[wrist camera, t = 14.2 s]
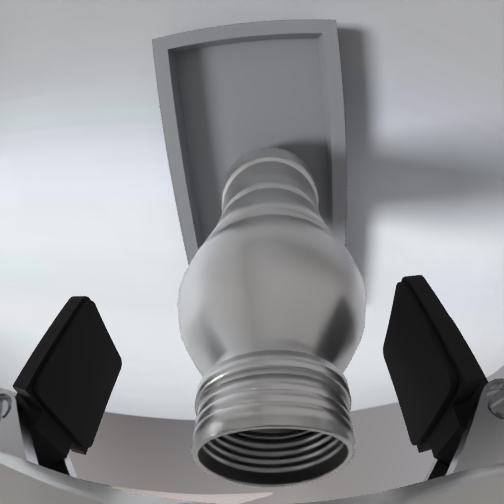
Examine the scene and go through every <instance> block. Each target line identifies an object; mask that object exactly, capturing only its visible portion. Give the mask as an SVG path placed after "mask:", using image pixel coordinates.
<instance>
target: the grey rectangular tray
mask: <svg viewBox="0 0 504 504" xmlns="http://www.w3.org/2000/svg"><path fill="white" fill-rule="evenodd" d="M152 45H153V54H154V63H155V72H156V80H157V88H158V96H159V103H160V110H161V117H162V124H163V131H164V137H165V143H166V150H167V156H168V162H169V167H170V173H171V179H172V184H173V190H174V195H175V201H176V206H177V211H178V216H179V221H180V226H181V231H182V236H183V241H184V246H185V250H186V255H187V259H188V264H189V265H190V263H191V261H192V259H193V258H194V256H195V254H196V253H197V251H198V250H199V248H200V247H201V246H202V245H203V243H204V242H205V241H206V239H207V238H208V237H209V235H210V234H211V233H212V231H213V230H214V229H215V228H216V226H217V224H218V222H219V220H220V218H221V216H222V199H221V197H222V187H223V182H224V179H225V177H226V174H227V172H228V171H229V169H230V168H231V166H232V165H233V164H234V163H235V162H236V161H237V160H238V159H239V158H240V157H242V156H243V155H245V154H246V153H248V152H251V151H253V150H256V149H260V148H266V147H273V148H280V149H284V150H287V151H289V152H292V153H294V154H296V155H297V156H298V157H300V158H301V159H302V160H303V161H304V162H305V163H306V164H307V165H308V166H309V168H310V169H311V171H312V173H313V175H314V177H315V180H316V183H317V189H318V199H319V202H318V209H319V213H320V215H321V217H322V219H323V221H324V222H325V224H326V225H327V226H328V227H329V229H330V230H331V231H332V232H333V233H334V235H335V236H336V237H337V238H338V239H339V240H340V242H341V243H342V244H343V245H344V246H345V238H346V139H345V116H344V99H343V85H342V73H341V61H340V51H339V42H338V34H337V25H336V20H276V21H261V22H250V23H240V24H232V25H224V26H217V27H210V28H204V29H198V30H193V31H188V32H183V33H178V34H173V35H169V36H164V37H160V38H156V39H152Z"/></svg>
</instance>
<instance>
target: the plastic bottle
mask: <svg viewBox="0 0 504 504" xmlns="http://www.w3.org/2000/svg"><path fill="white" fill-rule="evenodd" d="M221 199H222V216H221V218H220V220H219V222H218V224H217V226H216V228H215V229H214V230H213V231H212V233H211V234H210V235H209V237H208V238H207V239H206V241H205V242H204V243H203V245H202V246H201V247H200V248H199V250H198V251H197V253H196V254H195V256H194V258H193V259H192V261H191V263H190V265H189V267H188V268H187V270H186V272H185V274H184V276H183V279H182V282H181V285H180V288H179V295H178V318H179V327H180V333H181V338H182V340H183V342H184V345H185V347H186V349H187V351H188V353H189V355H190V357H191V359H192V361H193V363H194V364H195V366H196V368H197V369H198V371H199V372H200V373H201V375H202V376H203V378H202V380H201V382H200V384H199V386H198V391H197V395H196V401H195V411H196V415H197V418H196V423H195V428H194V434H193V438H192V445H191V449H192V455H191V456H192V459H193V461H194V463H195V464H196V465H197V466H198V467H199V468H200V469H201V470H202V471H204V472H205V473H207V474H209V475H211V476H212V477H214V478H217V479H220V480H222V481H225V482H229V483H232V484H236V485H241V486H247V487H256V488H257V487H258V488H284V487H293V486H300V485H304V484H309V483H313V482H316V481H319V480H322V479H325V478H327V477H329V476H331V475H333V474H335V473H337V472H339V471H340V470H342V469H343V468H344V467H345V466H347V465H348V464H349V463H350V461H351V460H352V458H353V457H354V452H355V449H354V446H355V438H354V433H353V428H352V423H351V417H350V410H351V396H350V391H349V387H348V383H347V380H346V378H345V376H344V375H343V372H344V371H345V369H346V368H347V366H348V364H349V363H350V361H351V359H352V357H353V355H354V353H355V351H356V349H357V347H358V345H359V343H360V341H361V338H362V334H363V331H364V328H365V311H366V290H365V286H364V281H363V277H362V275H361V273H360V271H359V269H358V267H357V265H356V263H355V261H354V260H353V258H352V257H351V255H350V253H349V251H348V250H347V249H346V248H345V246H344V245H343V244H342V243H341V242H340V240H339V239H338V238H337V237H336V236H335V235H334V233H333V232H332V231H331V230H330V229H329V227H328V226H327V225H326V224H325V222H324V221H323V219H322V217H321V215H320V213H319V209H318V202H319V199H318V189H317V183H316V180H315V177H314V175H313V173H312V171H311V169H310V168H309V166H308V165H307V164H306V163H305V162H304V161H303V160H302V159H301V158H300V157H298V156H297V155H296V154H294V153H292V152H289V151H287V150H284V149H280V148H273V147H266V148H260V149H256V150H253V151H251V152H248V153H246V154H245V155H243V156H242V157H240V158H239V159H238V160H237V161H236V162H235V163H234V164H233V165H232V166H231V168H230V169H229V171H228V172H227V174H226V177H225V179H224V182H223V187H222V197H221Z"/></svg>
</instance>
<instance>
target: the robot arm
mask: <svg viewBox="0 0 504 504" xmlns="http://www.w3.org/2000/svg"><path fill="white" fill-rule="evenodd" d="M383 354H384V359H385V362H386V364H387V367H388V370H389V373H390V376H391V379H392V382H393V385H394V388H395V391H396V394H397V397H398V401H399V404H400V407H401V410H402V413H403V417H404V420H405V423H406V427H407V430H408V434H409V437H410V441H411V443H412V444H413V445H417V448H418V451H419V453H420V452H424V451H427V450H430V449H432V452H433V456H434V458H435V459H434V461H433V463H432V465H431V467H430V469H429V472H428V473H427V475H426V477H425V479H424V481H423V482H420V483H416V484H412V485H408V486H405V487H400V488H396V489H392V490H387V491H383V492H377V493H372V494H367V495H361V496H356V497H350V498H343V499H336V500H329V501H319V502H309V503H296V504H504V379H494V380H492V381H490V382H488V381H487V379H486V377H485V375H484V373H483V371H482V369H481V368H480V366H479V364H478V362H477V360H476V358H475V357H474V355H473V353H472V351H471V350H470V348H469V346H468V344H467V343H466V341H465V339H464V338H463V336H462V334H461V333H460V331H459V329H458V328H457V326H456V324H455V323H454V321H453V320H452V318H451V317H450V316H449V315H448V313H447V311H446V310H445V308H444V307H443V305H442V304H441V302H440V301H439V299H438V298H437V296H436V294H435V293H434V291H433V290H432V289H431V287H430V286H429V284H428V283H427V281H426V280H425V278H424V277H423V276H422V275H416V276H407V277H403V279H402V281H401V282H399V283H397V285H396V290H395V296H394V301H393V306H392V311H391V315H390V320H389V325H388V329H387V333H386V338H385V342H384V346H383ZM121 366H122V361H121V357H120V355H119V353H118V351H117V349H116V347H115V345H114V343H113V341H112V339H111V337H110V335H109V333H108V331H107V329H106V327H105V325H104V323H103V321H102V318H101V316H100V314H99V312H98V310H97V307H96V305H95V303H94V302H93V301H91V300H90V298H89V297H86V296H73V297H71V298H70V299H69V300H68V302H67V303H66V304H65V306H64V307H63V309H62V310H61V311H60V313H59V314H58V316H57V317H56V319H55V320H54V321H53V323H52V324H51V326H50V327H49V329H48V330H47V332H46V333H45V335H44V336H43V338H42V339H41V341H40V342H39V344H38V345H37V347H36V348H35V350H34V352H33V353H32V355H31V356H30V358H29V360H28V361H27V363H26V364H25V366H24V368H23V369H22V371H21V373H20V374H19V376H18V378H17V379H16V381H15V383H14V385H13V388H14V389H15V390H16V391H17V395H16V396H15V395H14V394H13V393H12V392H11V391H9V390H1V391H0V504H214V503H201V502H191V501H182V500H174V499H167V498H161V497H154V496H149V495H143V494H138V493H133V492H128V491H124V490H119V489H115V488H111V487H107V486H103V485H99V484H95V483H92V482H88V481H85V480H82V479H78V478H77V475H76V473H75V470H74V468H73V465H72V463H71V460H70V458H69V455H68V453H69V450H70V449H71V450H72V451H73V452H77V453H81V454H84V455H86V452H87V449H88V448H89V447H91V446H92V444H93V441H94V438H95V436H96V432H97V430H98V427H99V424H100V422H101V419H102V416H103V413H104V411H105V408H106V405H107V403H108V400H109V397H110V395H111V392H112V390H113V387H114V385H115V382H116V380H117V377H118V375H119V372H120V370H121Z"/></svg>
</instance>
